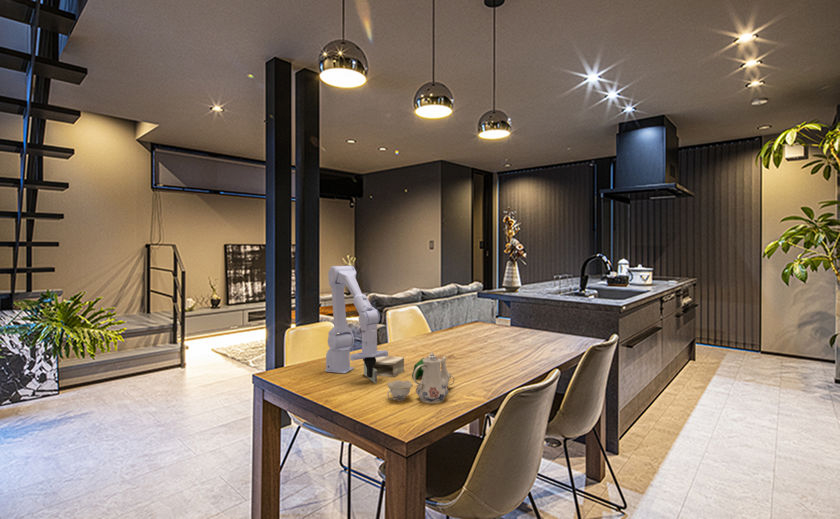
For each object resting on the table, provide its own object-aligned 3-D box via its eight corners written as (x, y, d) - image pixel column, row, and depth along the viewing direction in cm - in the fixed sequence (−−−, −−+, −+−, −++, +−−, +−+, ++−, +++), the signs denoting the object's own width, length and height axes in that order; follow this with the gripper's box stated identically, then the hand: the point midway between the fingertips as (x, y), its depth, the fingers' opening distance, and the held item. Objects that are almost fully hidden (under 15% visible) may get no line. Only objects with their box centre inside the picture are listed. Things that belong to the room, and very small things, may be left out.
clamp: (425, 390, 162) (427, 372, 157) (411, 385, 163) (412, 367, 159) (435, 371, 172) (437, 354, 167) (422, 366, 173) (424, 349, 169)
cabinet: (365, 374, 168) (365, 360, 168) (375, 367, 177) (375, 354, 177) (394, 377, 164) (394, 363, 163) (404, 370, 173) (404, 357, 173)
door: (363, 373, 167) (363, 361, 167) (365, 373, 168) (365, 361, 168) (374, 383, 155) (374, 370, 155) (376, 383, 155) (376, 370, 155)
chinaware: (439, 386, 157) (436, 342, 158) (472, 393, 145) (468, 345, 146) (380, 405, 139) (377, 355, 139) (413, 414, 126) (409, 360, 127)
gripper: (354, 345, 151) (354, 382, 151) (391, 341, 157) (391, 377, 157) (348, 341, 157) (348, 377, 157) (384, 338, 163) (384, 372, 164)
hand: (369, 376), depth 158 cm, fingers closed
